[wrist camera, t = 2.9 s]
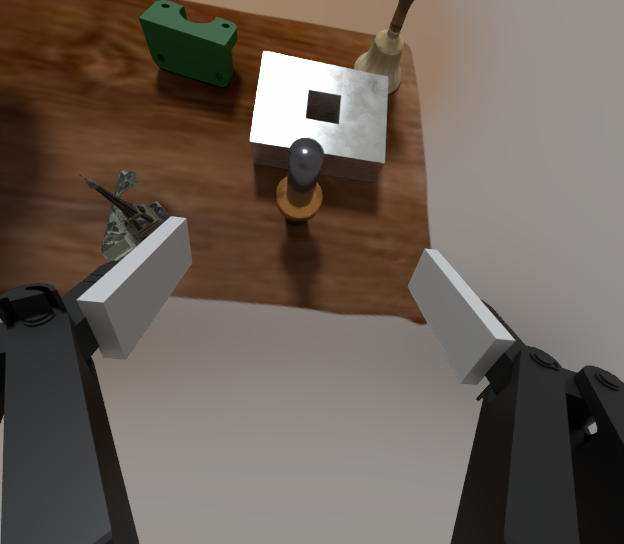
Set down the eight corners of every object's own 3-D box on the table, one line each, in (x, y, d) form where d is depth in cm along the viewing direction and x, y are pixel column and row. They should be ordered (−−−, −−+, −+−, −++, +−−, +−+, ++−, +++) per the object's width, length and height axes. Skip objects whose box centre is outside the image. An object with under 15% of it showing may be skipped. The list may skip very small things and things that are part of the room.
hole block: (253, 163, 38) (249, 140, 33) (265, 83, 40) (263, 51, 35) (371, 182, 40) (384, 163, 35) (375, 104, 42) (388, 76, 37)
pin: (274, 231, 36) (271, 176, 22) (278, 194, 37) (279, 120, 23) (313, 236, 37) (334, 186, 23) (316, 200, 38) (339, 131, 24)
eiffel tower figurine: (121, 171, 36) (31, 86, 23) (197, 180, 37) (153, 105, 24) (97, 277, 33) (-22, 251, 20) (180, 284, 34) (120, 264, 21)
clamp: (231, 87, 44) (250, 34, 37) (219, 108, 42) (237, 55, 35) (157, 32, 39) (162, -42, 32) (138, 52, 37) (139, -23, 29)
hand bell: (345, 79, 42) (384, -59, 27) (365, 45, 44) (412, -103, 29) (389, 104, 43) (453, -19, 27) (407, 69, 44) (477, -66, 29)
